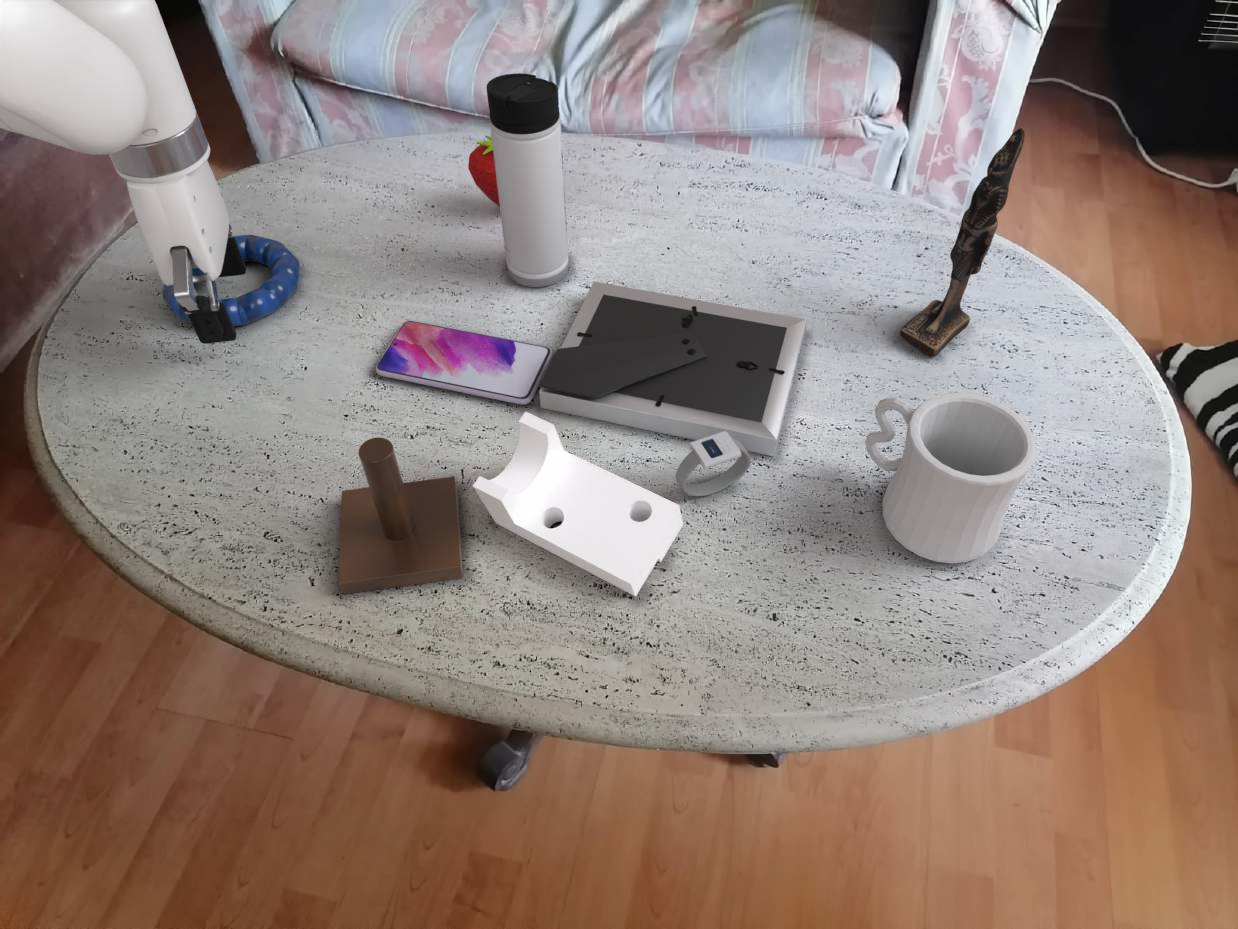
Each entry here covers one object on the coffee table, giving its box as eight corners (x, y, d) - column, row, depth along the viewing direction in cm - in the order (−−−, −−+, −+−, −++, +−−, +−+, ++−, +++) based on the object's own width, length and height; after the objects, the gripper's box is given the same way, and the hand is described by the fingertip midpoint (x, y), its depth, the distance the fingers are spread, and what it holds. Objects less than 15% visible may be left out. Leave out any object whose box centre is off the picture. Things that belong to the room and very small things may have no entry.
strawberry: (484, 191, 106) (473, 106, 98) (549, 199, 105) (543, 115, 97) (466, 221, 102) (453, 136, 95) (533, 230, 101) (525, 145, 93)
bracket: (499, 528, 76) (472, 486, 70) (546, 458, 79) (525, 411, 72) (637, 601, 72) (622, 563, 65) (683, 524, 74) (673, 480, 67)
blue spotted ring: (160, 339, 90) (149, 318, 88) (179, 258, 98) (170, 237, 96) (298, 324, 91) (290, 303, 89) (305, 245, 100) (298, 224, 98)
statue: (894, 341, 89) (949, 147, 74) (934, 305, 92) (993, 113, 77) (933, 362, 87) (998, 167, 72) (972, 324, 91) (1041, 131, 75)
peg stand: (342, 594, 71) (306, 507, 63) (345, 502, 77) (313, 411, 69) (463, 578, 72) (442, 490, 64) (457, 487, 78) (437, 396, 70)
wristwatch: (736, 464, 79) (742, 423, 75) (752, 487, 78) (759, 446, 74) (669, 487, 78) (671, 446, 74) (684, 512, 76) (687, 471, 72)
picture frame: (540, 408, 84) (773, 456, 80) (538, 385, 82) (777, 433, 78) (594, 298, 94) (804, 336, 90) (593, 274, 91) (808, 313, 87)
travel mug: (492, 274, 96) (467, 85, 81) (534, 243, 100) (518, 56, 84) (539, 298, 94) (522, 107, 78) (581, 265, 97) (572, 76, 82)
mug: (1020, 522, 75) (1064, 436, 67) (954, 589, 71) (993, 506, 63) (891, 439, 81) (918, 351, 73) (823, 496, 77) (844, 409, 69)
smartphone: (528, 401, 83) (371, 369, 86) (529, 408, 84) (374, 376, 86) (554, 346, 87) (405, 317, 90) (555, 353, 88) (406, 324, 91)
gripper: (127, 93, 82) (196, 255, 95) (87, 207, 71) (171, 373, 84) (216, 85, 83) (272, 247, 96) (190, 197, 72) (258, 363, 85)
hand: (225, 306), depth 90 cm, fingers open, 9 cm apart
